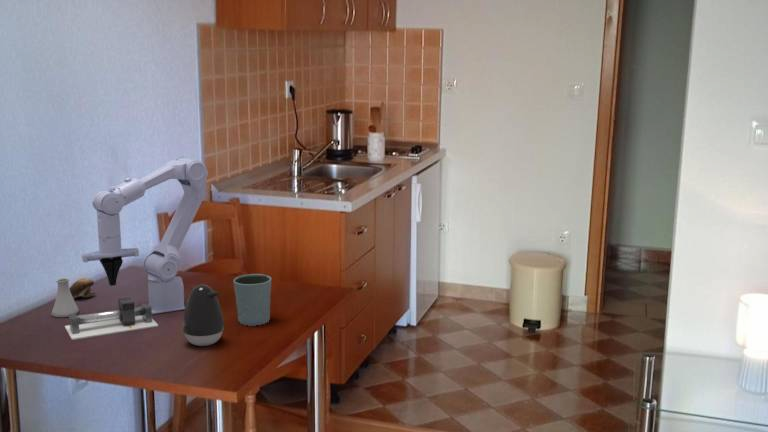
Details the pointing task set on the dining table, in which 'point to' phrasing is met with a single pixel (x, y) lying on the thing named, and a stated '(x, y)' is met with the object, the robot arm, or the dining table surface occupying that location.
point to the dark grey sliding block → (127, 311)
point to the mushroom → (82, 288)
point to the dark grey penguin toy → (203, 317)
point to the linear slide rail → (107, 317)
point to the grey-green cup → (253, 298)
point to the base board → (108, 328)
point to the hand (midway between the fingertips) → (112, 284)
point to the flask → (64, 300)
